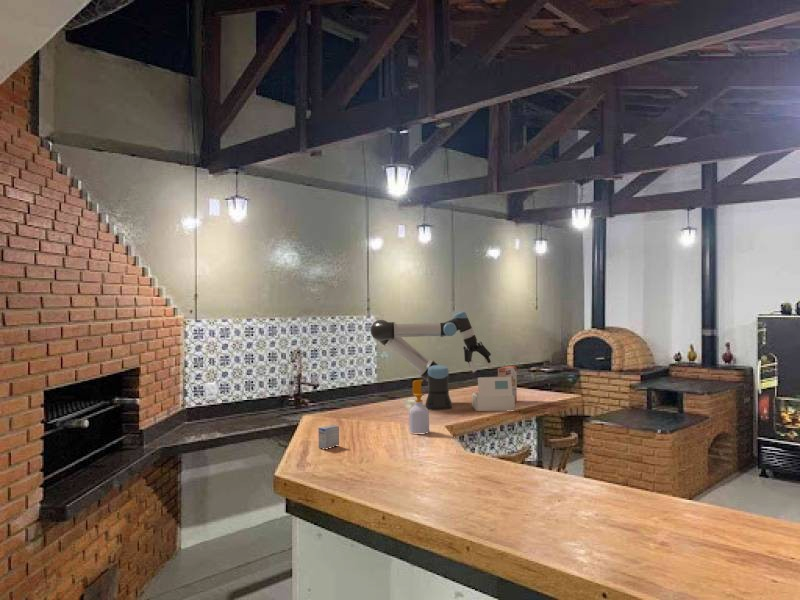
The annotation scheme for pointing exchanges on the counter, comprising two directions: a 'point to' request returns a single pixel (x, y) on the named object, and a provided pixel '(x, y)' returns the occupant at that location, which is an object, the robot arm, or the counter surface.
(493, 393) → the front flap
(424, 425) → the soap bottle
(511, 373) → the cracker box
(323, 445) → the medicine box
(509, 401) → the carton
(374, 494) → the counter surface
